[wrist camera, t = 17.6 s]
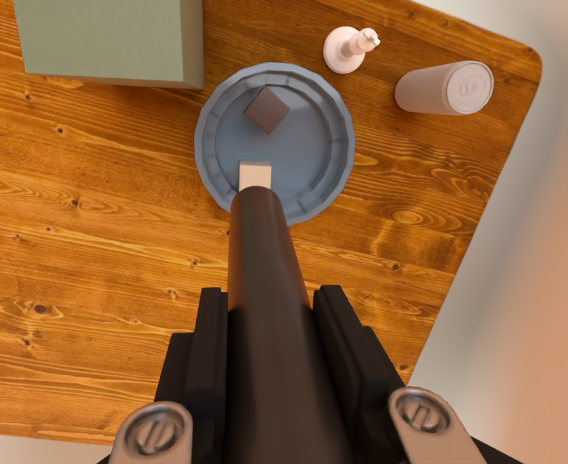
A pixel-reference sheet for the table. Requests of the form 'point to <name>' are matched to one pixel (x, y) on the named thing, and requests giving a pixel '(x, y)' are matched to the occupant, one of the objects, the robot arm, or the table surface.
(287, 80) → the bowl
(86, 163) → the table surface
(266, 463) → the stirring stick
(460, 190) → the table surface
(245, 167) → the cream block
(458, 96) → the beverage can
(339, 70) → the chess piece
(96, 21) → the stand
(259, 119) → the walnut block
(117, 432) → the robot arm
